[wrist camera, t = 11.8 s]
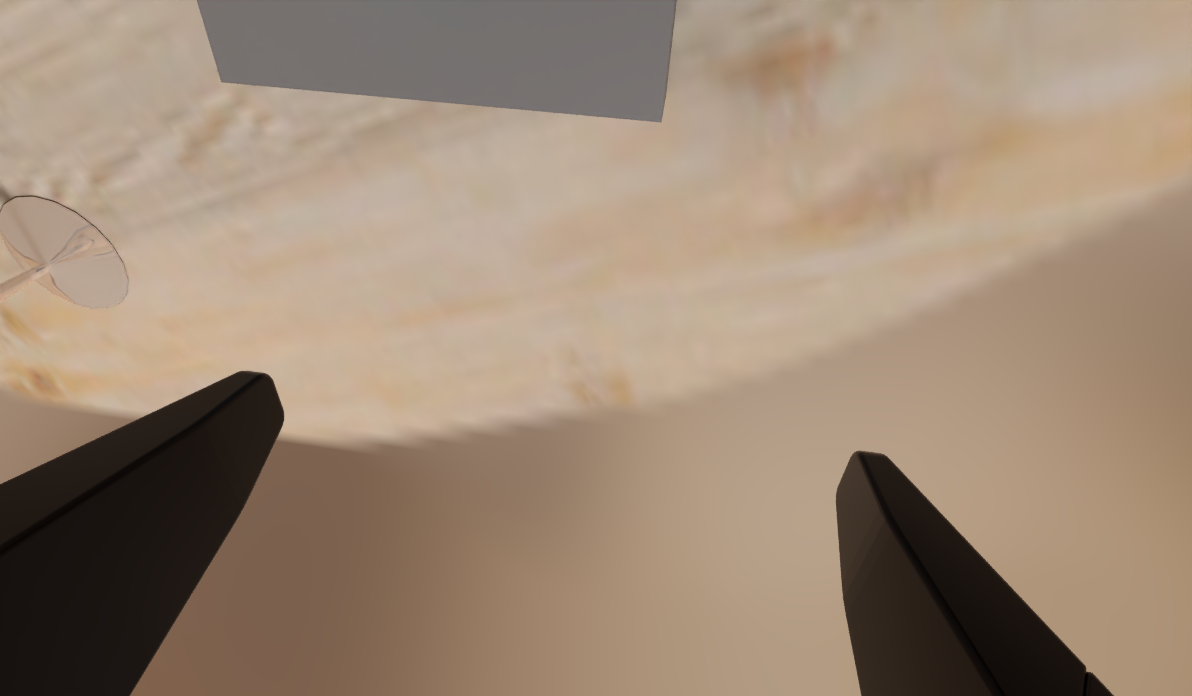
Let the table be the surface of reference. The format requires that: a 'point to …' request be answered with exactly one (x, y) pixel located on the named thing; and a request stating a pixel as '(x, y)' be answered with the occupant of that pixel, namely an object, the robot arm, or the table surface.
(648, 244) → the table surface
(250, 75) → the plinth
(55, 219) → the wineglass
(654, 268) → the table surface
